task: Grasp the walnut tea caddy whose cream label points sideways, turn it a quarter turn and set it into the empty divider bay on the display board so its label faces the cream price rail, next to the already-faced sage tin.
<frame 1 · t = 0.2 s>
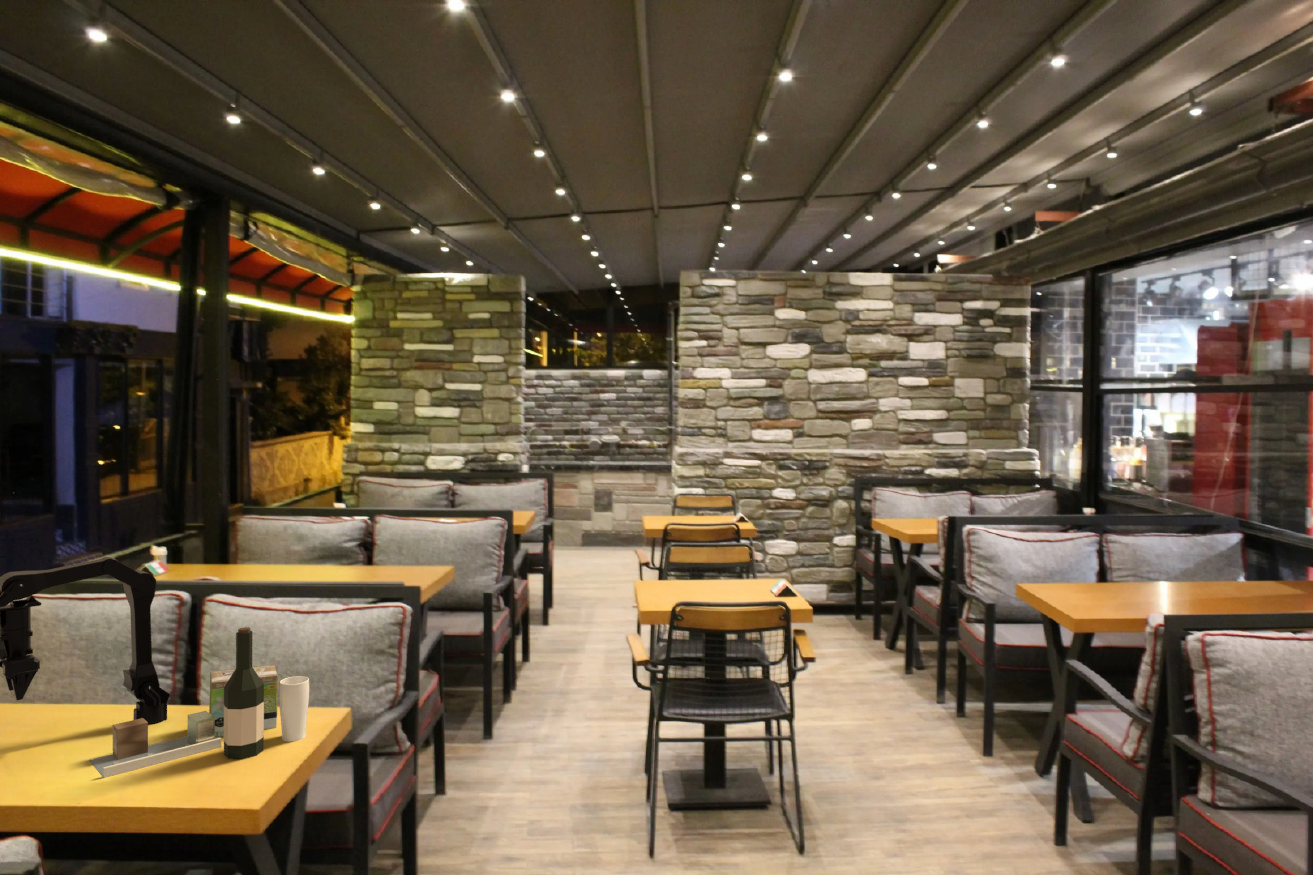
hand: (15, 694, 186), 14 cm above the table, fingers open, 9 cm apart
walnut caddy: (130, 753, 187), point 1 cm above the table, touching display board
tea box: (243, 731, 204), on the table
drinking glass: (294, 741, 198), on the table
sage tin: (201, 745, 192), point 1 cm above the table, touching display board
display board: (156, 757, 187), on the table
wine bottle: (243, 757, 188), on the table
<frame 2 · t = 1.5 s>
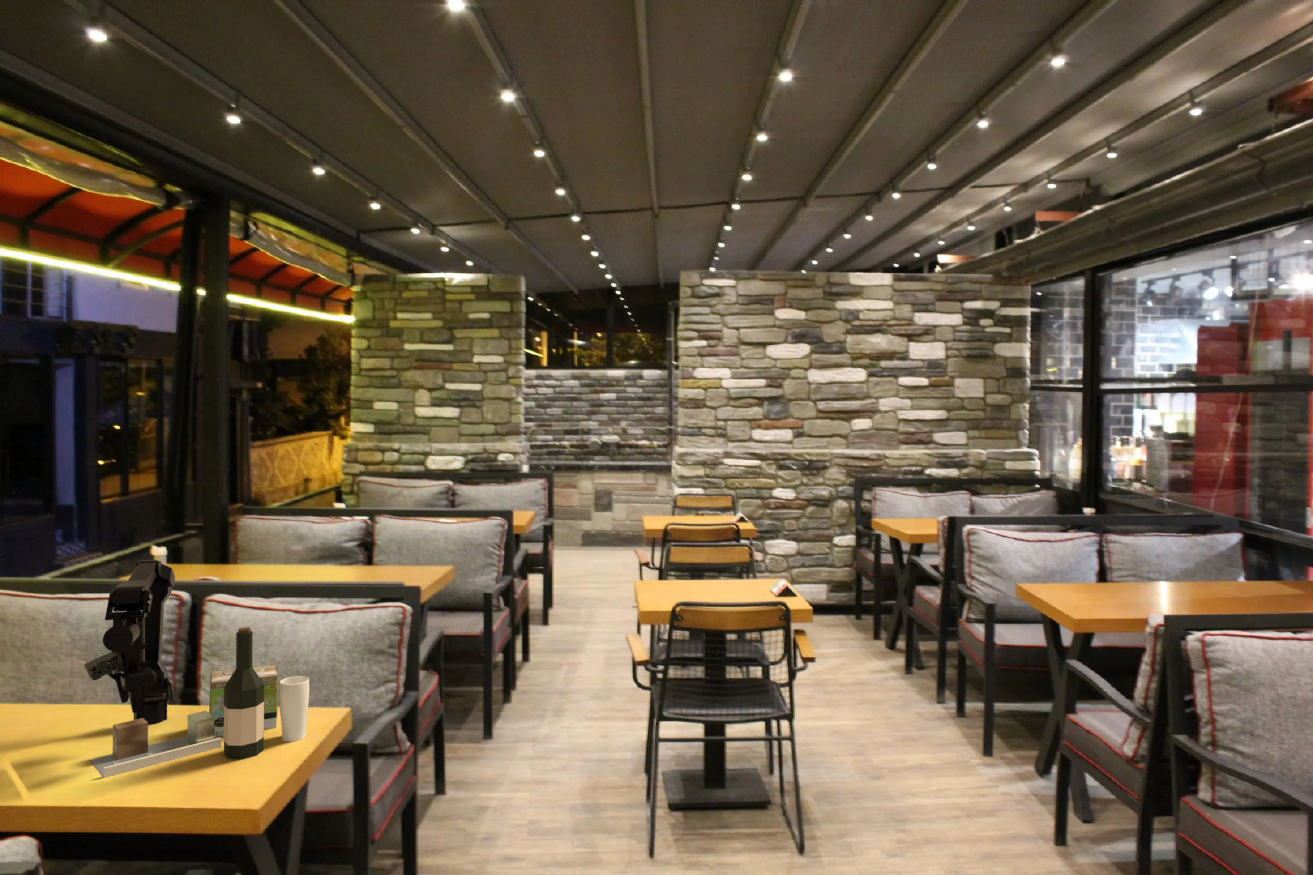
hand: (129, 707, 187), 12 cm above the table, fingers open, 9 cm apart
nothing on the table moved.
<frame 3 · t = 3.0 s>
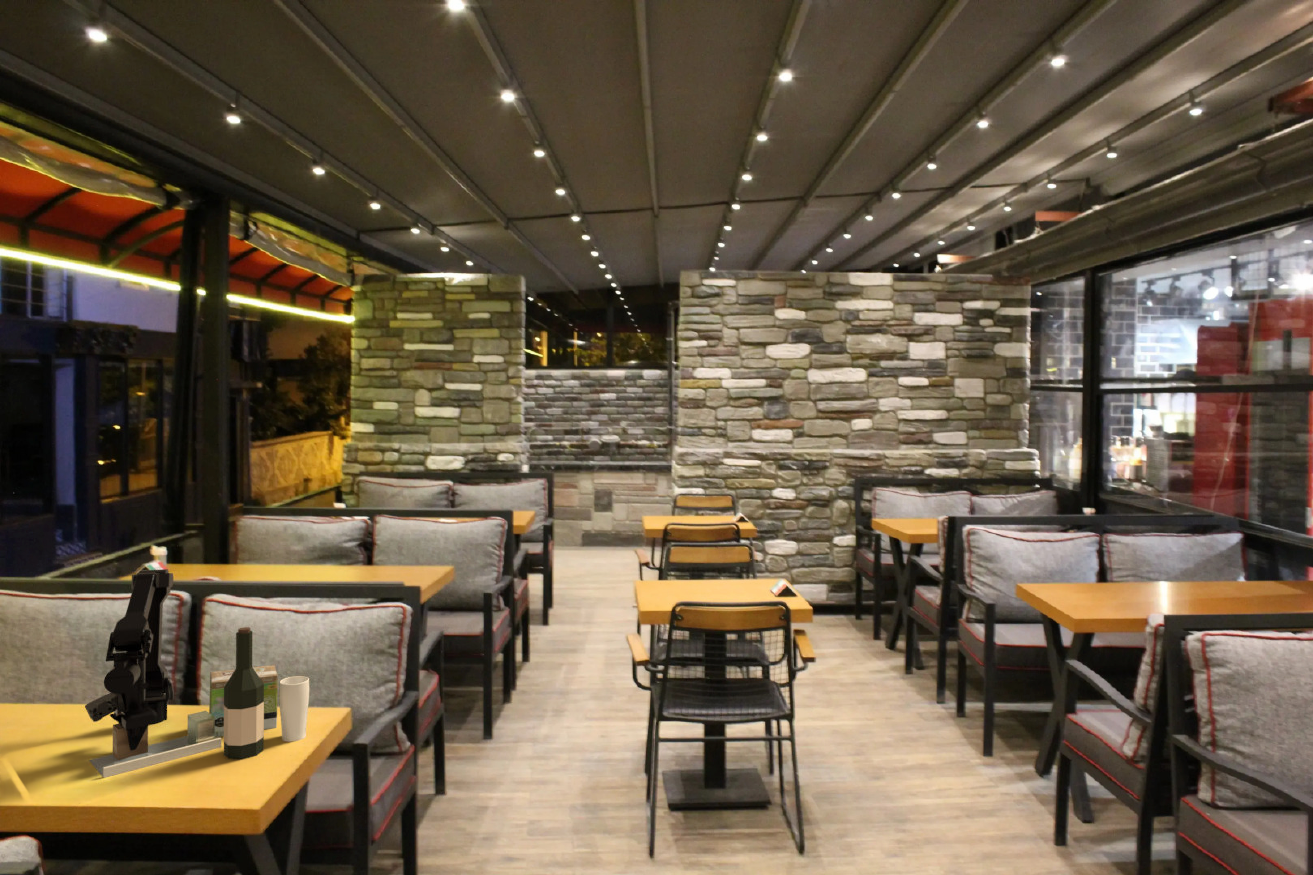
hand: (130, 747, 187), 3 cm above the table, fingers closed on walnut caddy, 4 cm apart
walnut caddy: (130, 753, 187), point 1 cm above the table, touching display board, gripper
everything else where it was.
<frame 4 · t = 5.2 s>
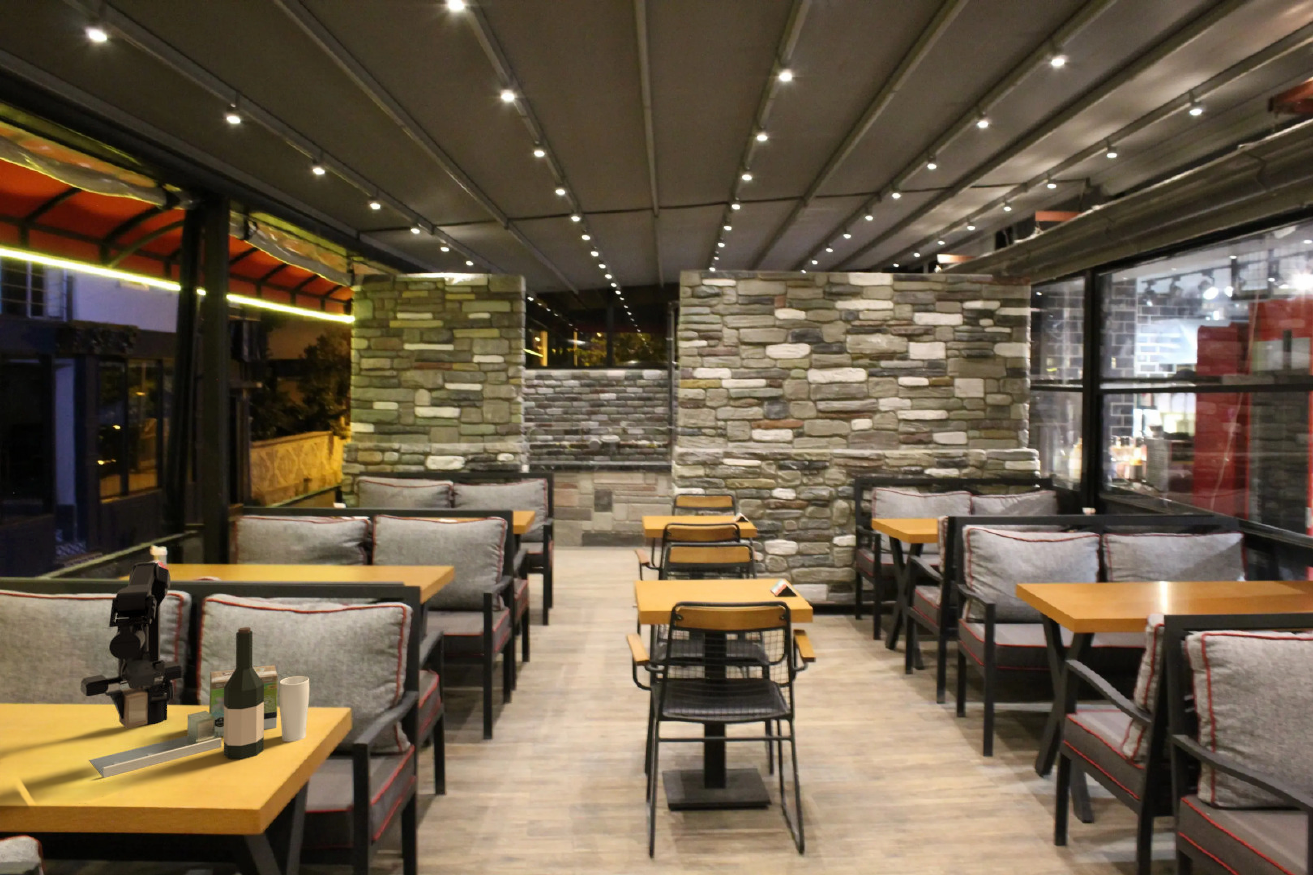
hand: (133, 715, 182), 12 cm above the table, fingers closed on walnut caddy, 4 cm apart
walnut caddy: (133, 722, 182), point 10 cm above the table, touching gripper
everything else where it was.
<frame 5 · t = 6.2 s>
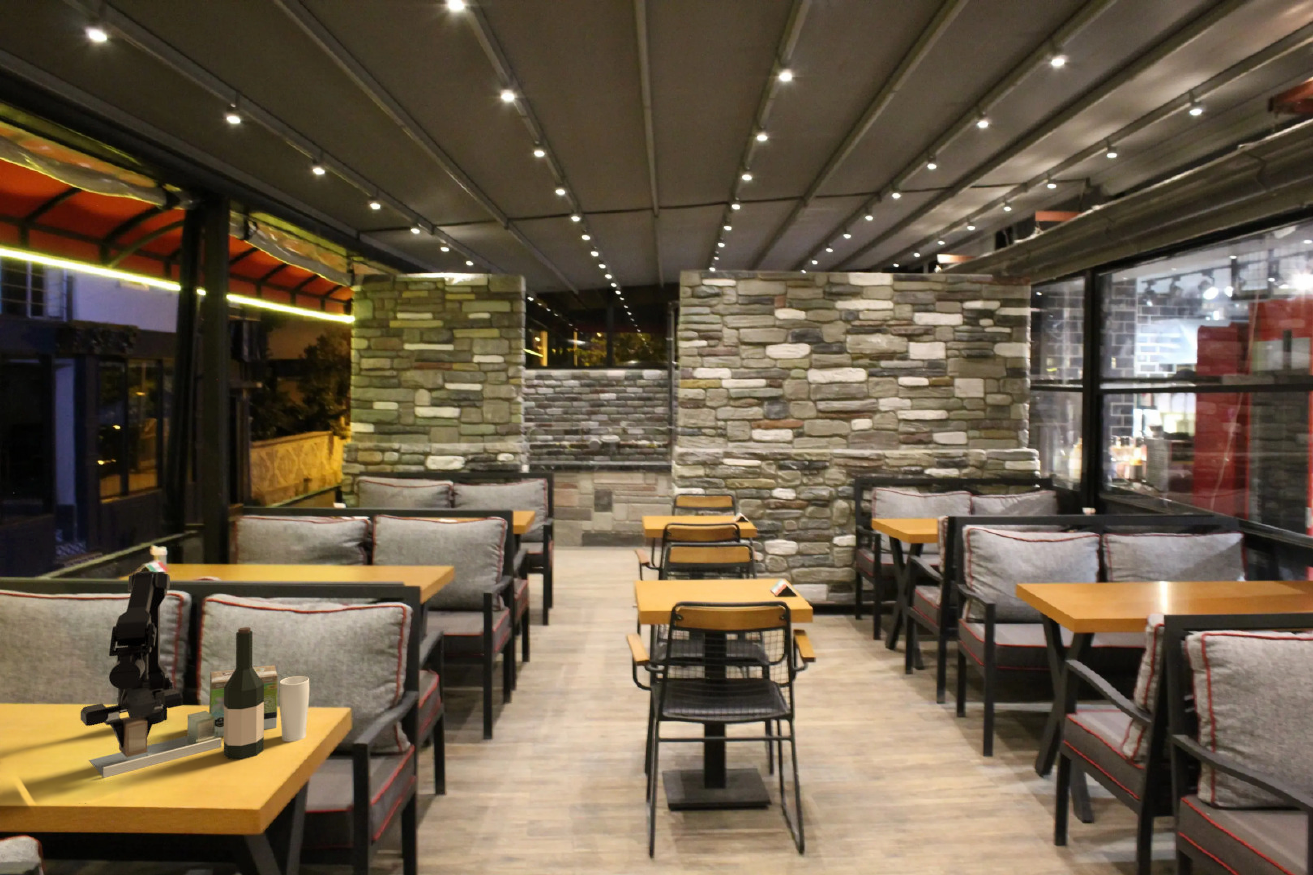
hand: (133, 744, 182), 5 cm above the table, fingers closed on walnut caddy, 4 cm apart
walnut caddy: (133, 750, 182), point 4 cm above the table, touching gripper
everything else where it was.
when the fingers open (3 cm above the table, at t = 7.3 s): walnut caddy stays where it is, resting on display board.
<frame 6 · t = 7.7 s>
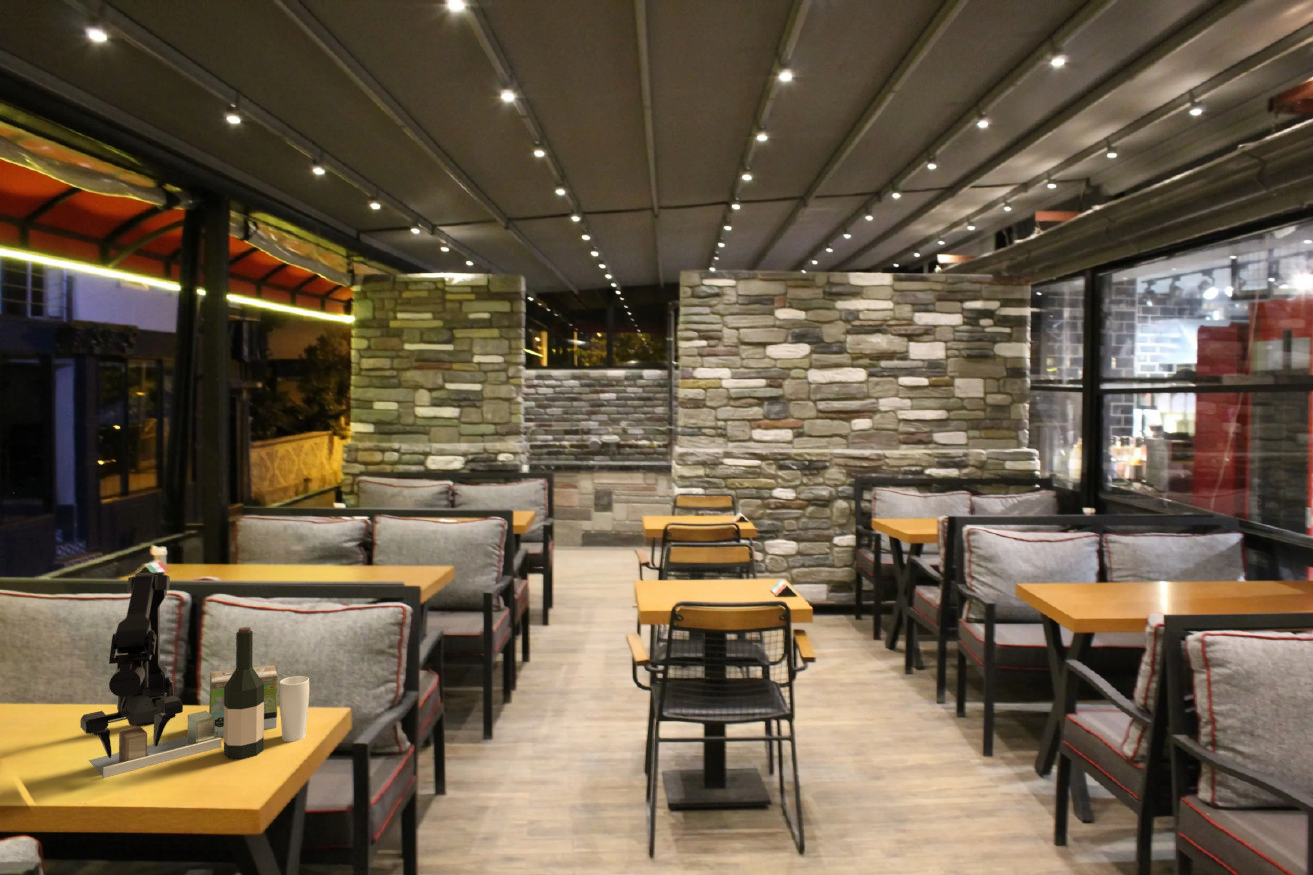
hand: (133, 751, 182), 3 cm above the table, fingers open, 9 cm apart
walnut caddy: (133, 762, 182), point 1 cm above the table, touching display board
everything else where it was.
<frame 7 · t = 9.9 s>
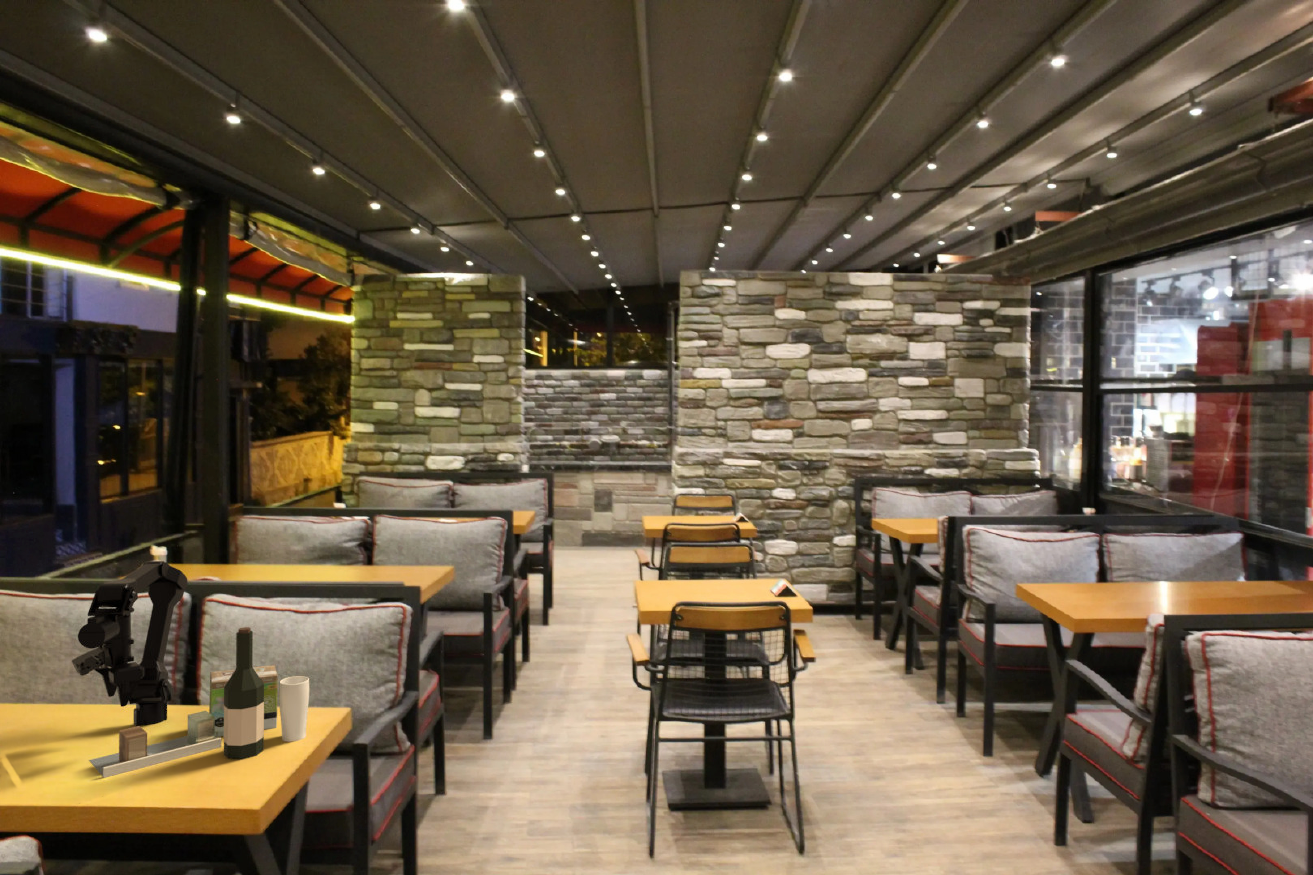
hand: (117, 701, 191), 12 cm above the table, fingers open, 9 cm apart
nothing on the table moved.
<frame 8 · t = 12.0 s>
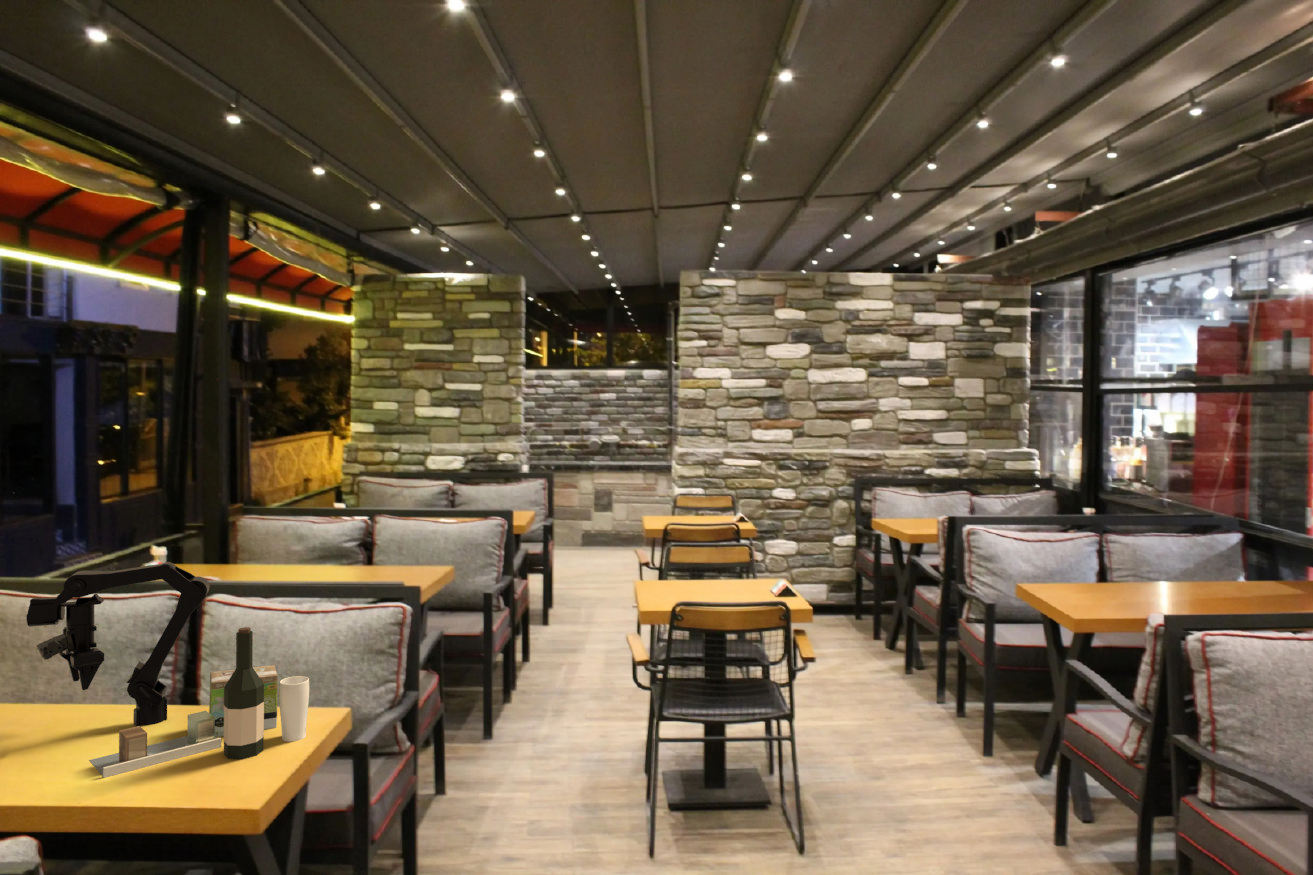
hand: (80, 685, 201), 12 cm above the table, fingers open, 9 cm apart
nothing on the table moved.
at the end: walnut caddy 0.0 cm from the target spot, point 1.0 cm above the table; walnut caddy tilted 0°; the gripper is holding nothing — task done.
